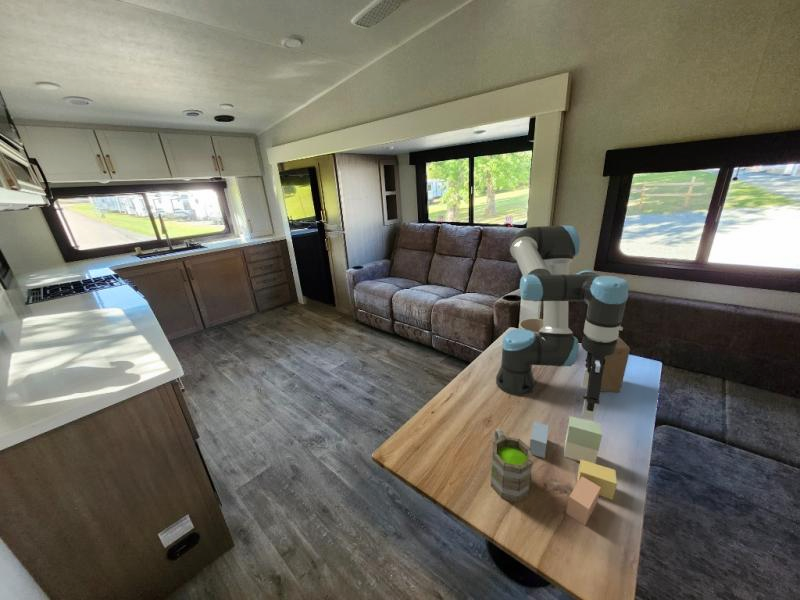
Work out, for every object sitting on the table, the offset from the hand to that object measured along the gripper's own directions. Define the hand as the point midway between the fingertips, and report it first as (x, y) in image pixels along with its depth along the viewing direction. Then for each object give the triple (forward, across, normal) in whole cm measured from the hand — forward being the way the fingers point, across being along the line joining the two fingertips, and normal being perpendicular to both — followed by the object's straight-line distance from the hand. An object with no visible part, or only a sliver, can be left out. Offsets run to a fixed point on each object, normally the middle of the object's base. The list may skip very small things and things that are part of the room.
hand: (587, 402), depth 86 cm
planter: (+20, +60, +19) cm, 67 cm away
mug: (+20, -18, +18) cm, 32 cm away
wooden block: (+20, +40, -8) cm, 46 cm away
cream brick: (+20, -1, 0) cm, 20 cm away
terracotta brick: (+19, -18, -1) cm, 27 cm away
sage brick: (+14, -1, 0) cm, 14 cm away
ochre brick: (+19, -10, -4) cm, 22 cm away
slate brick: (+20, -2, +11) cm, 23 cm away
